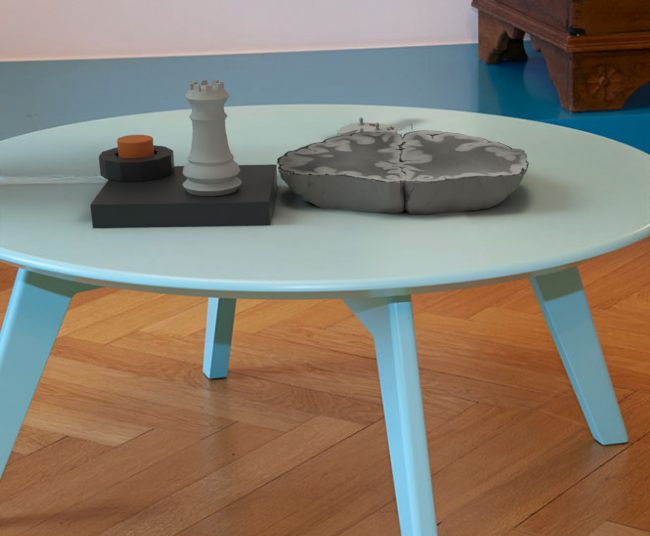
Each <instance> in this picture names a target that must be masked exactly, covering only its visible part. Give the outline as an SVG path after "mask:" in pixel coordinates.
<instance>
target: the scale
mask: <svg viewBox="0 0 650 536" xmlns="http://www.w3.org/2000/svg"><path fill="white" fill-rule="evenodd" d="M153 146H154V155H153V156H150V157H143V158H120V157H119V156H118V146H116V147H113V148H109V149H106V150H104V151H101V153H100V154H99V155H98V162H99V174H100V176H101V177H102V178H104V179H105V180H107V181H106V182H105V184H104V185H103V187H102V188H101V189H100V191H99V192H98V194H97V195H96V196H95V197H94V198H93V200H92V202H91V203H90V204H89V205H90V206H89V207H90V212H91V213H90V216H91V226H92V229H135V228H136V229H137V228H138V229H139V228H140V229H141V228H143V229H144V228H200V227H201V228H202V227H203V228H204V227H208V228H209V227H260V226H261V227H263V226H265V227H267V226H268V227H269V226H271V222H272V217H273V211H274V206H275V200H276V196H277V191H278V166H277V165H278V164H238V165H239V168H240V172H239V174H238V175H237V176H236V177H237V178H239V179H240V180H241V182H242V183H241V185H240V186H239V188H238V189H237V190H236V191H235V192H233V193H230V194H226V195H220V196H198V195H193V194H190V193H188V191H187V190H186V189H185V188H184V186H183V183H184V182H185V181H186V180H187V178H186V177H185V176H184V174H183V168H184V166H185V165H175V157H174V150H173V149H171V148H169V147H167V146H163V145H156V144H153Z"/></svg>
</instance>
